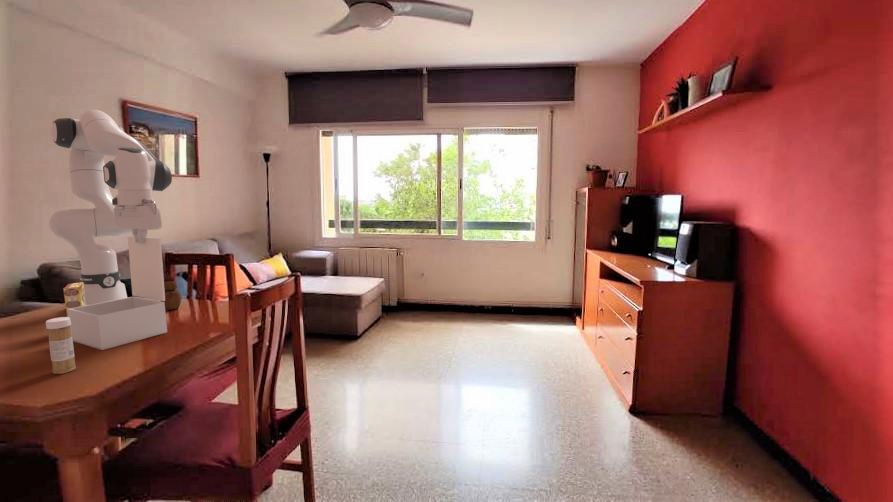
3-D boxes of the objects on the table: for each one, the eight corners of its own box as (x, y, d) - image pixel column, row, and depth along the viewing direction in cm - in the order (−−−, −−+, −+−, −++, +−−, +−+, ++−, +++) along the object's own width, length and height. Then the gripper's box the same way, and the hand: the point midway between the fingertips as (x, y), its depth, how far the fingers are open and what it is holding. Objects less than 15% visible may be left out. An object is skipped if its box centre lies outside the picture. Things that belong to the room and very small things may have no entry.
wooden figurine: (158, 310, 166) (154, 272, 165) (169, 306, 172) (166, 269, 170) (173, 311, 165) (170, 272, 163) (185, 307, 171) (181, 269, 169)
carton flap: (127, 236, 144) (129, 236, 145) (132, 295, 146) (134, 295, 147) (158, 238, 136) (160, 238, 136) (163, 301, 138) (165, 300, 138)
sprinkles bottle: (63, 367, 111) (57, 316, 110) (81, 367, 111) (75, 316, 109) (47, 374, 107) (40, 321, 105) (65, 374, 107) (58, 321, 105)
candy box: (86, 333, 140) (80, 286, 138) (68, 335, 137) (62, 288, 135) (89, 326, 147) (84, 281, 145) (73, 328, 145) (67, 283, 143)
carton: (71, 340, 132) (67, 309, 131) (136, 325, 148) (133, 296, 147) (101, 350, 124) (98, 316, 122) (167, 332, 139) (164, 302, 138)
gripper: (165, 199, 136) (169, 243, 137) (130, 199, 145) (134, 241, 147) (143, 199, 130) (148, 245, 132) (108, 200, 140) (113, 243, 141)
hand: (140, 243), depth 139 cm, fingers closed, pressing on carton flap
